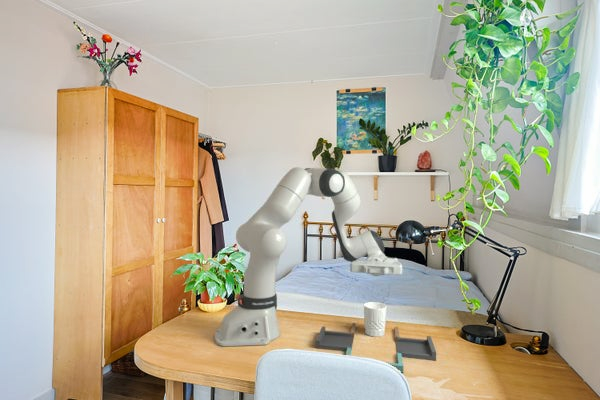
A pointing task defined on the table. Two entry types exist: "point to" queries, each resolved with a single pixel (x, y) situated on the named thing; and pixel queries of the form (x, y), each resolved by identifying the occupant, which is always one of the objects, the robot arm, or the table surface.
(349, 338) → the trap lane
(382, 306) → the white cup
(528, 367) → the table surface
